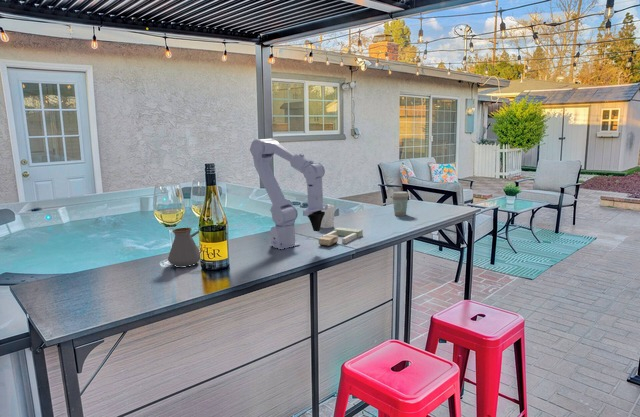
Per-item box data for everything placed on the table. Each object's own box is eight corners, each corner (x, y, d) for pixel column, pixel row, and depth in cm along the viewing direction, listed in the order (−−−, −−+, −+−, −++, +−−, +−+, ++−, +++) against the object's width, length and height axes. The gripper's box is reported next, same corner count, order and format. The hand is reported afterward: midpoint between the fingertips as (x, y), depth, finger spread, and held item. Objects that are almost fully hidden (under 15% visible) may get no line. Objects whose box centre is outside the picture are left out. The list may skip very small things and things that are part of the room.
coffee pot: (175, 272, 145) (170, 229, 142) (164, 264, 154) (159, 223, 151) (232, 258, 158) (229, 219, 155) (219, 252, 167) (216, 214, 164)
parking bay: (346, 243, 172) (346, 237, 172) (321, 240, 178) (321, 234, 178) (362, 235, 184) (362, 229, 184) (338, 232, 190) (338, 227, 190)
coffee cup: (388, 214, 226) (388, 192, 223) (402, 212, 229) (402, 190, 227) (398, 217, 218) (398, 194, 216) (411, 215, 222) (412, 192, 219)
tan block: (329, 247, 168) (329, 239, 167) (318, 245, 170) (318, 238, 170) (338, 243, 173) (338, 235, 173) (327, 241, 176) (327, 234, 176)
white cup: (315, 228, 201) (314, 207, 199) (322, 224, 208) (322, 204, 206) (330, 229, 198) (329, 208, 196) (337, 225, 204) (336, 205, 203)
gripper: (313, 199, 153) (315, 236, 155) (334, 193, 165) (335, 227, 167) (297, 198, 157) (299, 234, 159) (318, 192, 169) (319, 226, 171)
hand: (316, 230), depth 163 cm, fingers closed
